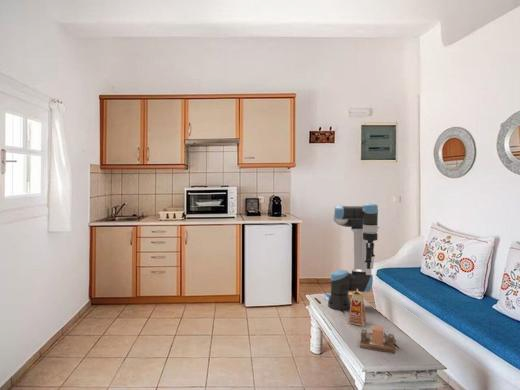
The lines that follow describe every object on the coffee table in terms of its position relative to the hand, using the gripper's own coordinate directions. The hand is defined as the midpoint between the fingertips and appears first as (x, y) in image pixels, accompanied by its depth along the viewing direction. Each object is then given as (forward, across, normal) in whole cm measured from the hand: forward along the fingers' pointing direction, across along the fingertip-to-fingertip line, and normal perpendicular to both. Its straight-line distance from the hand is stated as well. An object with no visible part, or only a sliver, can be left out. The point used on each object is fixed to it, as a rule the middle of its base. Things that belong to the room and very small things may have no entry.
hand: (369, 271), depth 182 cm
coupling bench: (+34, -10, -5) cm, 36 cm away
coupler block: (+32, -12, -5) cm, 35 cm away
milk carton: (+35, +14, +8) cm, 38 cm away
